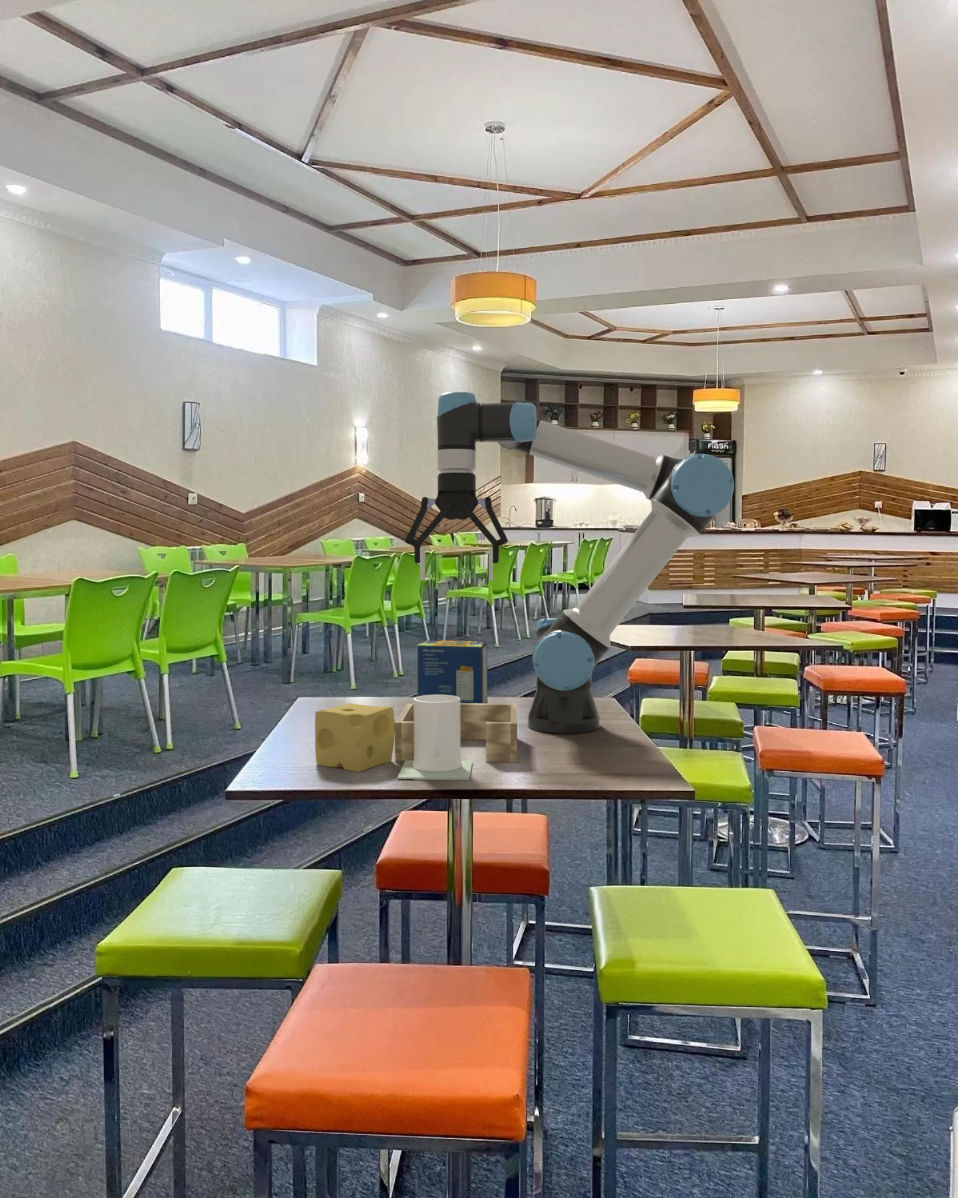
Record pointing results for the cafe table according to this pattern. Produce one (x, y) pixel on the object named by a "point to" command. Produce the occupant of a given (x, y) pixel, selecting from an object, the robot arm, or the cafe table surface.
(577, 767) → the cafe table surface
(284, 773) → the cafe table surface
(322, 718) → the cheese
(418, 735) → the mug
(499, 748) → the frame
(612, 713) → the cafe table surface
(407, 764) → the mat
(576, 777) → the cafe table surface
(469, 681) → the protein box
